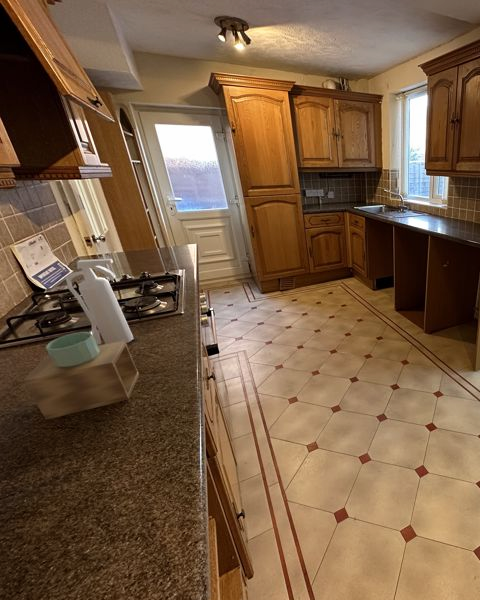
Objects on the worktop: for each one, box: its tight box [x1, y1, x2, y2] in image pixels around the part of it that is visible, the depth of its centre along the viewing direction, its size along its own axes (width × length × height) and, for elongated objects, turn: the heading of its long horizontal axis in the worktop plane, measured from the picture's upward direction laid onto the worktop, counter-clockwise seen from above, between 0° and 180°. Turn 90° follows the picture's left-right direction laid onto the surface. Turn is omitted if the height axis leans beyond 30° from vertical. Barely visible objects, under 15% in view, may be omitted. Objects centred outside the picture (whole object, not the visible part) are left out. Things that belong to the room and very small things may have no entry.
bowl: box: [45, 331, 100, 367], centre depth 69 cm, size 7×7×5 cm
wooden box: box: [22, 341, 140, 420], centre depth 72 cm, size 14×10×10 cm
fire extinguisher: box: [65, 258, 134, 346], centre depth 90 cm, size 7×12×25 cm, turn 118°
